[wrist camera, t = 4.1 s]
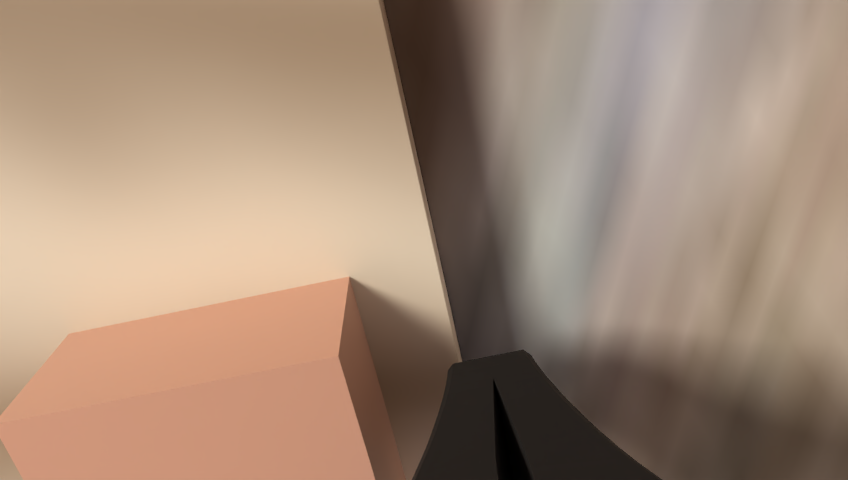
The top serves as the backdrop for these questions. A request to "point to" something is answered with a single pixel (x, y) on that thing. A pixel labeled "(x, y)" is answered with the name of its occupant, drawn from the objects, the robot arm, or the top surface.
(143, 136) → the board
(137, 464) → the block
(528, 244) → the top surface
